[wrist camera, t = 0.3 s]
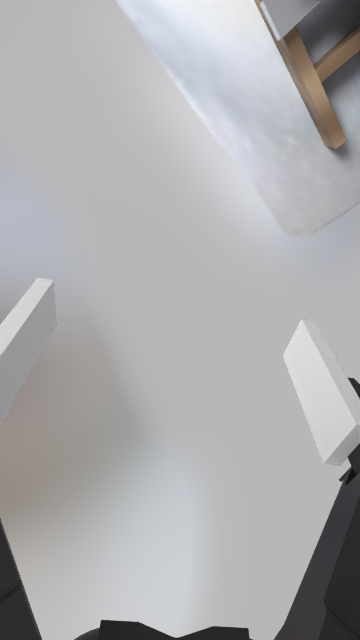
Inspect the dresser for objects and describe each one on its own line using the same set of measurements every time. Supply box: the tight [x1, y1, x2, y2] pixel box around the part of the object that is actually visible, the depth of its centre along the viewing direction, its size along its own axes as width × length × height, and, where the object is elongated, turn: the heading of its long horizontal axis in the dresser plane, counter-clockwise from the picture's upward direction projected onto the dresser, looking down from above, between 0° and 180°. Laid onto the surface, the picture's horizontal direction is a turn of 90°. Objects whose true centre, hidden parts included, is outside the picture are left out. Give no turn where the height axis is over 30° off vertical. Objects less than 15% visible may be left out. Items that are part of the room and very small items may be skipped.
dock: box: [254, 0, 360, 149], centre depth 28 cm, size 20×9×3 cm, turn 39°
